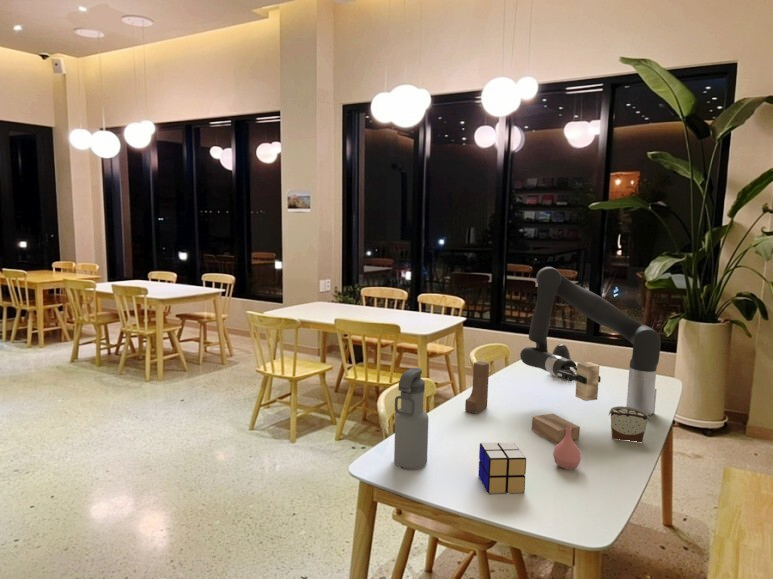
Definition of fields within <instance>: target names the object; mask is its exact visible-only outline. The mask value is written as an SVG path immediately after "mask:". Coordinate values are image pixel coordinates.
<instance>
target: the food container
mask: <svg viewBox="0 0 773 579" xmlns="http://www.w3.org/2000/svg"><path fill="white" fill-rule="evenodd" d="M608 416H610V428H611V429H610V430H611V440H614V439H618V440H617V441H621V440H630V441H637V442H643V443H644V439H645V434H646V433H645V432H646V428H647V423H648V422H650V421H651V420H650V416H648V414H647V413H646V412H644V411H642V410H639V409H636V408H631V407H626V406H619V405H618V406H614V407H611V408H610V410H609V412H608ZM619 439H620V440H619Z"/></svg>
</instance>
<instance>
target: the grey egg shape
mask: <svg viewBox="0 0 773 579" xmlns="http://www.w3.org/2000/svg"><path fill="white" fill-rule="evenodd" d="M551 354H554V355H557V356H561V357H564V358H566V359H569V360H572V358H571V355H570V351H569V349H568V347H567V345H565V344H562V343H558V344H557V345H556V346H555V347H554V349H553V351H552V353H551Z"/></svg>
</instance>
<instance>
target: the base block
mask: <svg viewBox="0 0 773 579" xmlns="http://www.w3.org/2000/svg"><path fill="white" fill-rule="evenodd" d="M567 427H569V428H571V437H572V440H573V442H574V443H575V442H578V441H580V428H581V427H580V426H579V425H577V424H574V423H573V422H570V421H569V420H566V419H565V418H562V417H561V416H559V415H557V414H555V413H549V414H548V413H547V414H541V415H534V416H532V417H531V430H532V431H533V432H535V433H537V434H539V435H541V436H542V437H544V438H545V439H547V440H549V441H551V442H552V443H554V444H556V445H557V444H559V443H560V442H561V441H562V440H563V438H564V437H565V435H566V428H567Z"/></svg>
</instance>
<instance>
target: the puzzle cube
mask: <svg viewBox="0 0 773 579" xmlns="http://www.w3.org/2000/svg"><path fill="white" fill-rule="evenodd" d="M478 453H479V454H478V456H479V457H478V459H479V461H478V474H477V475H478V476H477V477H478V478H479V479H480V482H481V481H482V482H481V483H482V486H483V487H484V489H485V491H486V493H487V492H488V493H505V494H507V493H510V494H524V493H525V491H526V490H525V489H526V471H527V469H526V468H527V458H526V456H525V455H524V453H523V452H522V451H521V449H520V448H519V447H518V446H517V445H516V443H515V442H513V441H512V442H498V443H497V442H481V443H479V452H478ZM488 493H487V494H488Z"/></svg>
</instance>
